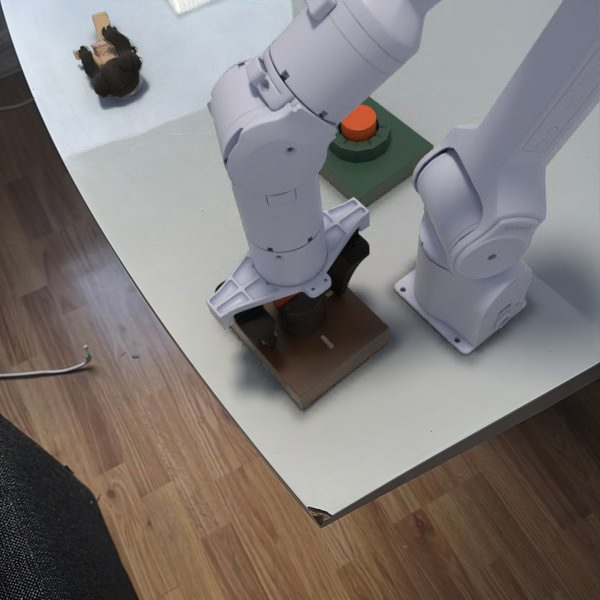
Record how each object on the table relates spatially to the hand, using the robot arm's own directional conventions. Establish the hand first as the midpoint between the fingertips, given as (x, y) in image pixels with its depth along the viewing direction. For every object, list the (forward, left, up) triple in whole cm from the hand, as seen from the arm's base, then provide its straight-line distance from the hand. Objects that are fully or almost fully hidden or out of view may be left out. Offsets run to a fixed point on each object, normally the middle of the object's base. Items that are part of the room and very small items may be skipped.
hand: (301, 313), depth 58 cm
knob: (0, 0, 0) cm, 0 cm away
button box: (+13, -18, -3) cm, 23 cm away
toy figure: (+45, -5, -3) cm, 45 cm away
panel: (0, 0, -3) cm, 3 cm away
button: (+13, -18, 0) cm, 22 cm away
